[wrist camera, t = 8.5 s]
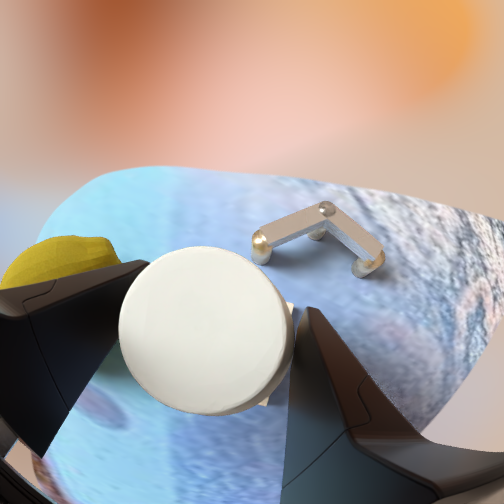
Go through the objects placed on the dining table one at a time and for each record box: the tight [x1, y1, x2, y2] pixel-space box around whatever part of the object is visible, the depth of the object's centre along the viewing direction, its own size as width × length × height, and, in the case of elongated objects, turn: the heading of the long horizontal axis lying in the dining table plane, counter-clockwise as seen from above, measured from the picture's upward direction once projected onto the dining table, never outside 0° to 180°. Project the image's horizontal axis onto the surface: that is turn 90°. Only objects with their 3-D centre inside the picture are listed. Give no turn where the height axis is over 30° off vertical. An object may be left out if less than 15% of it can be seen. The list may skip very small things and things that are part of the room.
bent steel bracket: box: [251, 201, 385, 278], centre depth 19 cm, size 4×9×4 cm, turn 74°
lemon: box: [0, 235, 122, 290], centre depth 14 cm, size 11×8×8 cm
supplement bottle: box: [118, 246, 295, 416], centre depth 10 cm, size 5×5×10 cm
